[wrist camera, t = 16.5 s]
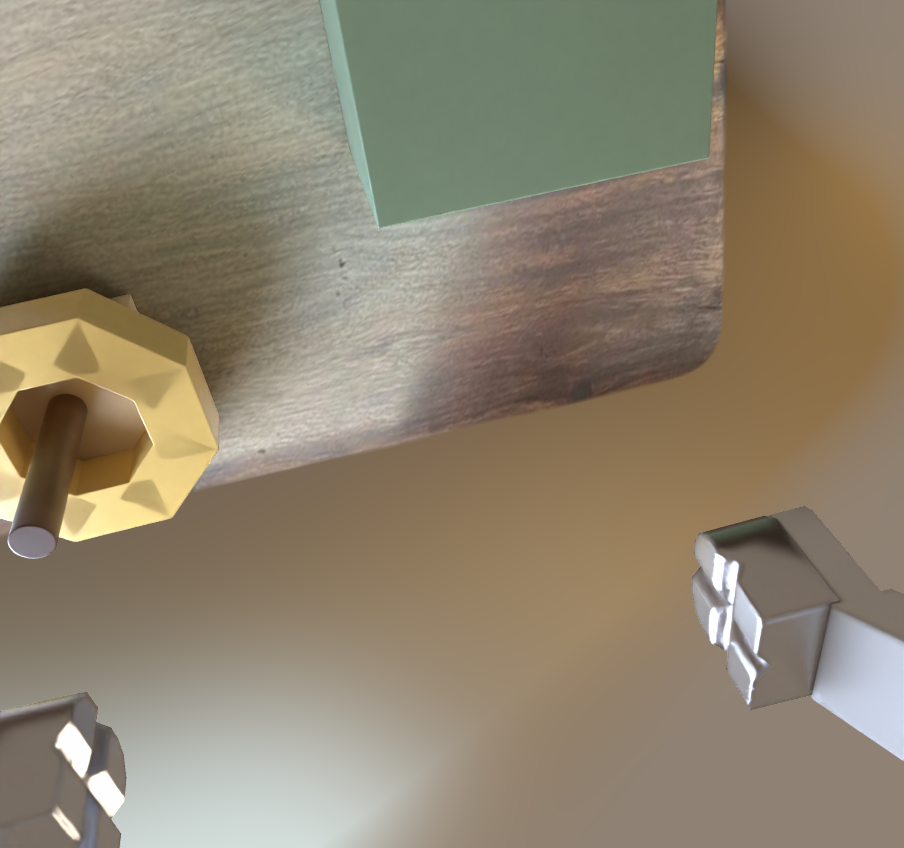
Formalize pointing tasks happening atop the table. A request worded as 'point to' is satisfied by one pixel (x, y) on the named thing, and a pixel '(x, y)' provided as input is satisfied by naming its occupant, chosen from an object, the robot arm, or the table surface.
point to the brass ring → (122, 372)
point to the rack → (65, 449)
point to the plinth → (516, 95)
